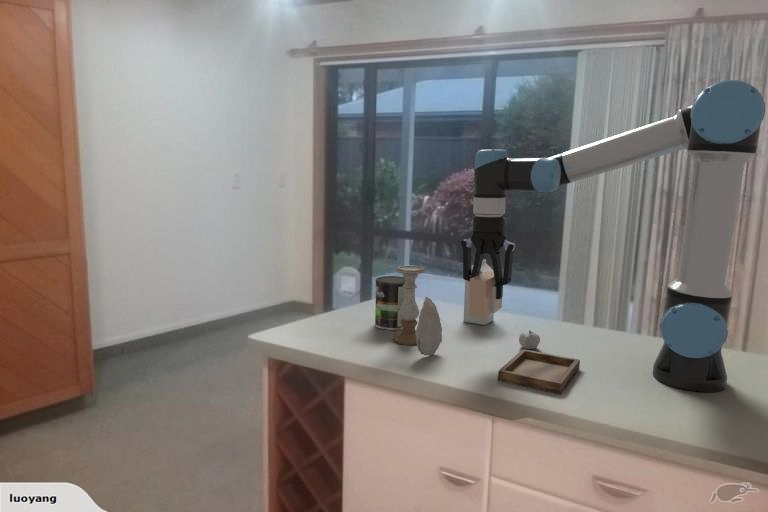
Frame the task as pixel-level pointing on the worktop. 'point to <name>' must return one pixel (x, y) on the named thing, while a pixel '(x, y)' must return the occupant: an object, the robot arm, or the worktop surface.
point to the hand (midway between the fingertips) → (485, 310)
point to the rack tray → (539, 371)
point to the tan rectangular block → (482, 295)
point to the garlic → (529, 340)
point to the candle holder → (408, 306)
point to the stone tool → (428, 329)
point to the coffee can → (389, 302)
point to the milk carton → (466, 300)
